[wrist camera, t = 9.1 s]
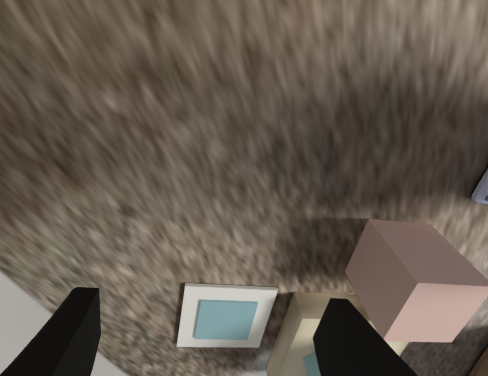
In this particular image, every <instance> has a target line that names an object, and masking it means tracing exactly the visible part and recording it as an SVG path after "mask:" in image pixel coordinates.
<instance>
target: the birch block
mask: <svg viewBox="0 0 488 376" xmlns="http://www.w3.org/2000/svg"><path fill="white" fill-rule="evenodd" d="M330 298H343V299H348V300H349V301H350V302H351V303H352V304H353V305H354V306H355V308H356V309H357V310H358V311H359V312H360V313H361V314H362V315H363V316H364V318H365V319H366V320H367V321H368V322H369V323H370V324H371V326H372V327H373V328H374V329H375V327H374V325H373V323H372V321H371V320H370V318H369V316H368V314H367V312H366V310H365V308H364V306H363V305H362V303H361V301H360V299H359V297H358V295H344V294H324V293H304V292H294V294H293V296H292V299H291V302H290V304H289V307H288V310H287V312H286V315H285V318H284V320H283V323H282V326H281V328H280V331H279V334H278V336H277V339H276V342H275V344H274V347H273V350H272V352H271V355H270V357H269V360H268V363H267V365H266V372H267V376H308V375H307V372H306V368H305V365H304V361H303V358H305V357H308V356H310V355H312V354H315V348H314V343H313V336H314V333H315V331H316V329H317V327H318V325H319V322H320V320H321V318H322V316H323V313H324V311H325V309H326V307H327V304H328V302H329V300H330ZM375 330H376V329H375ZM386 342H387V343H388V345H389V346H390V347H391V348H392V349H393V350H394V351H395V352H396V353H397V354H398V355H399V356H400V354H401V353H402V352H403V350H404V349H405V347H406V346H407V344H408V343H409V342H392V341H386Z"/></svg>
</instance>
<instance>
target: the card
mask: <svg viewBox="0 0 488 376" xmlns="http://www.w3.org/2000/svg"><path fill="white" fill-rule="evenodd" d="M277 292H278V289H277V287H259V286H238V285H217V284H196V283H185V289H184V296H183V304H182V311H181V318H180V325H179V333H178V340H177V347H246V348H259V346H260V343H261V340H262V337H263V334H264V331H265V328H266V325H267V322H268V319H269V316H270V313H271V310H272V307H273V304H274V301H275V298H276V295H277Z"/></svg>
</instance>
